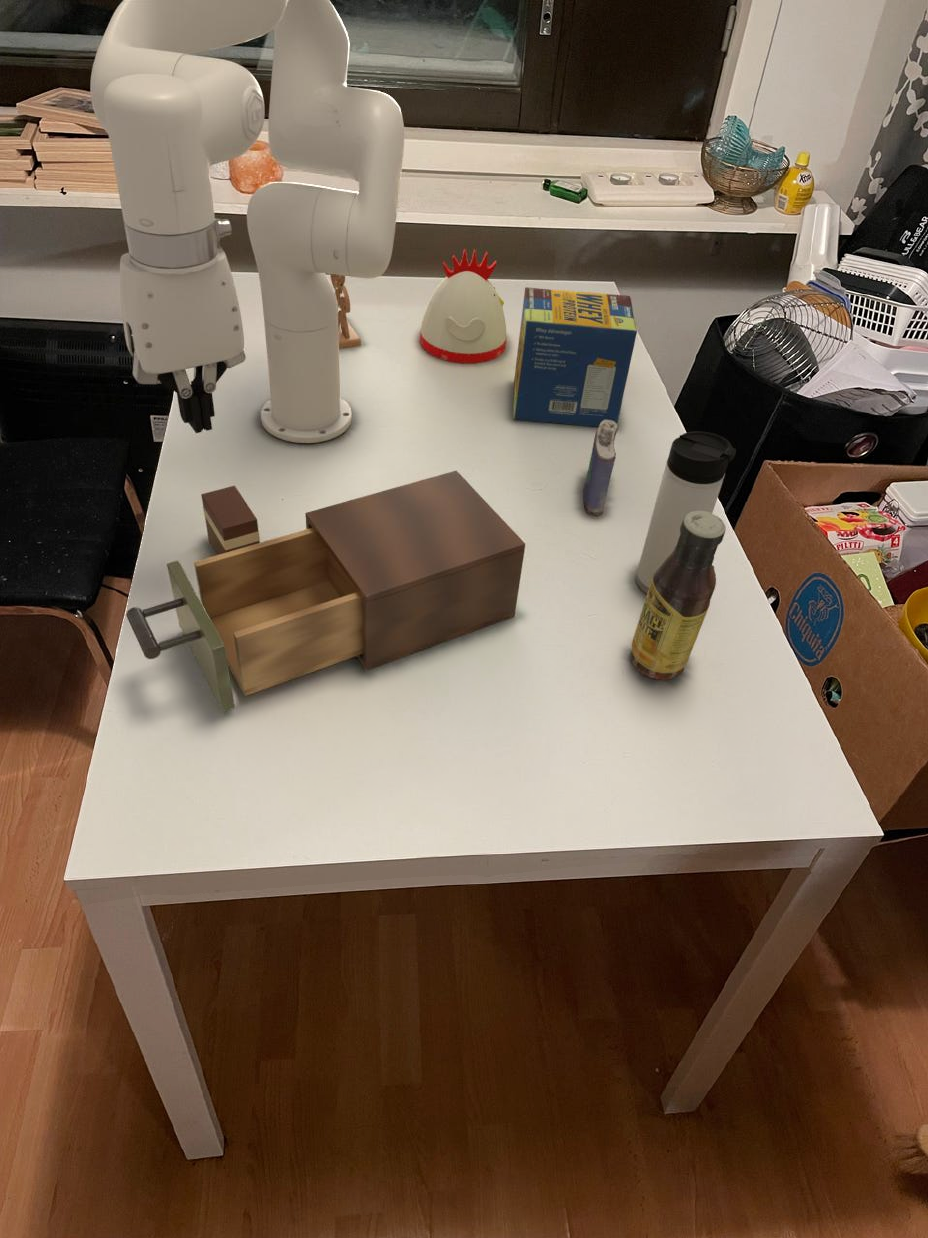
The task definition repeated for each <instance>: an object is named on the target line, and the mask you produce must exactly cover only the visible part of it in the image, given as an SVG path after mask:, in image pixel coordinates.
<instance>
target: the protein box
mask: <svg viewBox="0 0 928 1238" xmlns="http://www.w3.org/2000/svg"><path fill="white" fill-rule="evenodd" d="M522 302H523V303H522V311H521V312H522V313H521V321H520V329H519V337H518V345H517V353H516V362H515V369H514V370H515V371H514V378H513V413H512V414H513V415H512V416H513V417H512V418H513V420H515V421H516V420H518V421H529V422H537V423H538V422H540V423H549V424H550V423H551V424H562V425H563V424H564V425H572V426H574V425H575V426H587V427H597V428H598V427H599V424H600V423H601V422H602V421H603V420H612V421H614V422H615V423H617V424H618V423H619V417H620V415H621V414H620V413H621V408H622V404H623V400H624V399H623V398H624V394H625V389H626V385H627V381H628V377H629V371H630V366H631V362H632V357H633V352H634V348H635V344H636V338H637V334H638V327H637V325H636V321H635V315H634V309H633V302H632V297H631V296H630V295H626V294H610V293H599V292H588V291H587V292H585V291H575V290H561V289H549V288H548V289H547V288H539V287H538V288H537V287H524V293H523V301H522Z"/></svg>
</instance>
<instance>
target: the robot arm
mask: <svg viewBox="0 0 928 1238" xmlns="http://www.w3.org/2000/svg"><path fill="white" fill-rule="evenodd" d="M272 31H273V40H274V41H273V54H272V68H271V69H272V70H271V81H270V95H269V106H268V107H269V109H268V121H267V122H268V123H267V124H268V125H267V130H268V131H267V133H268V134H267V135H268V139H267V140H268V148H269V152H270V154H271V156H272V158H273V160H274V161H275V162H276V163H278V164H279V165H280V166H282V167H283V168H287V169H288V170H293V171H297V172H301V173H308V174H312V175H313V174H314V175H320V176H327V177H335V178H342V179H349V180H354V181H355V182H357V184H358V191H354V190H347V189H339V188H333V187H327V186H322V185H315V184H309V183H300V182H294V181H293V182H291V181H274V182H269V183H267V184H264V185H262V186H260V187H258V189H257V190H255V191H254V192H253V194H252V195H251V197H250V199H249V201H248V204H247V209H246V226H247V232H248V238H249V242H250V245H251V249H252V252H253V255H254V260H255V265H256V267H257V274H258V278H259V285H260V294H261V301H262V302H261V303H262V314H263V315H262V316H263V323H264V334H265V346H266V347H265V348H266V357H267V371H268V381H269V392H270V399H268V400H267V401H266V402H265V403H264V404H263V406H262V407H261V410H260V421H261V425H262V426H263V428H264V429H265V430H266V431H267V432H268V433H269V434H270V435H272V436H274V437H276V438H278V439H280V440H282V441H287V442H291V443H297V444H315V443H322V442H326V441H329V440H332V439H335V438H337V437H339V436H341V435H343V433H344V432H346V431H347V430H348V429H349V427H350V426H351V424H352V419H353V414H352V408H351V406H350V404H348V402H347V401H346V400H344V399H343V398H342V397H341V379H340V378H341V376H340V375H341V373H340V348H339V332H338V311H339V307H338V304H337V298H336V295H335V289H334V287H333V284H332V282H331V280H330V279H329V278H328V276H327V275H328V274H329V275H330V274H335V275H340V276H341V275H342V276H345V277H349V278H357V279H358V278H359V279H369V280H370V279H371V280H372V279H375V278H379V277H380V276H382V275H383V274H384V273H385V272H386V271H387V269H388V267H389V265H390V262H391V259H392V255H393V250H394V249H393V248H394V244H395V243H394V242H395V235H396V226H397V216H398V206H399V198H400V191H401V190H400V189H401V180H402V171H403V162H404V150H405V124H404V118H403V113H402V110H401V107H400V105H399V104H398V102H397V101H396V100H395V99H394V98H393V97H392V96H390V95H389V94H387V93H385V92H381V91H380V90H374V89H368V88H359V87H352V86H348V84H347V79H348V66H349V55H350V39H349V35H348V31H347V30H346V27H345V25H344V23H343V20H342V18H341V17H340V14H339V13H338V11H337V10H336V8H335V6H334V5H333V3H332V2H331V0H122V1H121V2H120V3H119V5H118V6H117V8H116V9H115V10H114V12H113V14H112V16H111V17H110V21H109V22H108V25H107V27H106V29H105V32H104V34H103V36H102V38H101V41H100V44H99V45H98V47H97V50H96V54H95V57H94V61H93V63H92V68H91V75H90V85H89V86H90V87H89V88H90V89H89V90H90V101H91V105H92V109H93V112H94V115H95V118H96V120H97V121H98V124H99V125H100V127H101V128H102V129H103V130H104V131H105V132H106V133H107V134H108V140H109V145H110V150H111V156H112V162H113V166H114V167H113V168H114V174H115V179H116V185H117V191H118V196H119V201H120V207H121V213H122V219H123V226H124V231H125V236H126V243H127V248H128V252H126V253H123V254H122V255H120V259H119V260H120V261H119V292H120V304H121V305H120V306H121V315H122V324H123V325H122V326H123V332H124V338H125V343H126V347H127V350H128V352H129V354H130V355H131V356H132V357H133V362H132V363H133V364H132V376H133V378H134V379H135V381H136V382H137V384H140V385H158V384H159V385H160V384H161V385H163V386H164V387H167V388H168V389H169V390H171V391H173V392H175V393H176V397H177V403H178V410H179V413H180V414H179V415H180V418H181V420H182V422H183V423H184V424H189V426H190V427H191V429H192V430H193V431H194V433H195V434H199V433H202V431H206V432H207V431H208V432H209V431H211V430H213V425H212V424H213V423H212V418H213V417H215V415H216V414H215V405H214V397H213V393H214V392H215V391H216V389H217V383H218V381H219V380H220V379H221V378H222V377H223V375H224V374H225V372H227V370H228V369H231V368H233V367H235V366H238V365H240V364H242V363H244V362H245V361H246V358H247V356H246V353H245V351H244V347H245V334H244V326H243V319H242V314H241V309H240V308H241V307H240V302H239V299H238V294H237V289H236V285H235V282H234V277H233V274H232V270H231V267H230V263H229V260H228V257H227V254H226V252H225V250H224V249H223V247H221V238H224V237H226V236H230V235H232V233H233V230H232V224H231V222H230V220H229V218H223V219H222V218H218V217H217V218H216V216H215V207H214V197H213V189H212V188H213V187H212V180H211V172H210V167H211V166H213V165H216V164H219V163H223V162H228V161H232V160H235V159H236V158H239V157H241V156H243V155H244V154H246V153H247V152H248V151H249V150H250V149H252V147H253V146H254V145H255V144H256V142H257V140H258V139H259V137H260V135H261V133H262V130H263V128H264V124H265V113H266V111H265V99H264V95H263V92H262V89H261V87H260V84H259V82H258V80H257V79H256V78H255V76H254V75H253V73H251V72H250V71H249V70H248V69H247V68H246V67H245V66H242V65H241V64H239V63H236V62H234V61H231V60H227V59H223V58H217V57H210V56H204V55H203V56H202V55H196V54H199V53H202V52H207V51H212V50H216V49H222V48H226V47H231V46H235V45H238V44H243V43H246V42H249V41H251V40H254V39H257V38H261V37H263V36H265V35H266V34H268V33H270V32H272ZM192 368H193V379H192V380H191V381H190V379H189V375H188V373H187V370H188V369H192Z"/></svg>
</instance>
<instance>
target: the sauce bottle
mask: <svg viewBox="0 0 928 1238" xmlns="http://www.w3.org/2000/svg"><path fill="white" fill-rule="evenodd" d="M725 533H726V524H725V523H724V520H722V518H721V517H719V515H716V514H714V513H710V512H706V511H693V512H690V513H689V514H687V515H686V516H685V517H684V519H683V521H682V524H681V526H680V536H679V539H678V542H677V545H676V547H675V548H674V551H673V552H672V553H671V554H670V555H669V556H668V558H667V559H666V560H665V561H664V562H663V563H662V565H661V566H660V567H659V568H658V569H657V571H656V572H655V573H654V575H653V577H652V580H651V584H650V586H649V590H648V593H647V594H646V597H645V599H644V603H643V605H642V610H641V611H640V615H639V619H638V622H637V625H636V627H635V632H634V635H633V638H632V641H631V651H630V660H631V662H632V665H633V666H634V668H635V669H637V670H638V672H640V673H641V674H642V675H643V676H645V677H647V678H650V679H651V678H652V679H654V680H659V681H660V680H664V681H665V680H666V681H667V680H671V679H673V678H676V677H677V676H679V675H681V674H682V672H684V670H685V667H686V665H687V664H688V661H689V659H690V657H691V654H692V652H693V649H694V646H695V644H696V641H697V638H698V637H699V633H700V631H701V628H702V626H703V623H704V621H705V618H706V615H707V614H708V610H709V609H710V606H711V605H710V604H711V599H712V597H713V594H714V592H715V590H716V586H717V575H716V571H715V566H714V565H713V562H714V560H715V554H716V552H717V550H718V547H719V545H720V544H722V542H723V540H724V537H725Z"/></svg>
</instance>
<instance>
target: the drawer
mask: <svg viewBox="0 0 928 1238" xmlns="http://www.w3.org/2000/svg"><path fill="white" fill-rule="evenodd" d="M193 565H194V572H195V577H196V583H197V588H198V594H199V596H198V594H197V592H196V590H195V588H194V586H193V585H192V583H191V581H190V579H189V577H188V575H187V574H186V572H185V570H184V568H183V566H182V565H181V563H180V561H179V560H178V559H177V560H174V561H171V562H168V563H166V567H167V572H168V576H169V581H170V586H171V592H172V597H173V600H170V601H167V602H164V603H160V604H157V605H154V606H150V607H147V608H144V609H141V608H140V607H138V606H137V607H136V606H135V607H131V608H129V609H128V610H127V612H126V614H125V615H126V618H127V620H128V622H129V625H130V627H131V629H132V631H133V633H134V636H135V638H136V641H137V642H138V645H139V647H140V649H141V651H142V653H143V655H144V657H145V659H148V660H154V659H156V658H159V656H160V655H161V653H162V651H166V650H169V649H172V648H175V647H179V646H181V645H184V644H188V645H189V647H190V649H191V651H192V654H193V655H194V657H195V660H196V661H197V663H198V665H199V667H200V669H201V671H202V673H203V675H204V677H205V679H206V681H207V683H208V685H209V687H210V689H211V690H212V693H213V695H214V696H215V699H216V700H217V702H218V704H219V706H220V708H221V710H222V712H227V711H229V710H233V709H235V702H234V695H233V689H232V682H231V676H230V672H231V673H232V675H233V678H234V679H235V681H236V682H237V684H238V687H239V688H240V690H241V692H242V694H243V696H245V697H246V696H249V695H251V694H255V693H257V692H261V691H263V690H266V689H268V688H272V687H274V686H277V685H280V684H282V683H286V682H288V681H292V680H293V679H296V678H300V677H303V676H304V675H307V674H310V673H313V672H317V671H319V670H322V669H324V668H327V667H330V666H333V665H335V664H338V663H340V662H341V663H342V662H344V661H346V660H349V659H352V658H356V657H357V656H358V655H361V654H363V610H362V596H361V595H360V594H359V592H358V591H357V589H356V588H355V587H354V585H353V584H352V582H351V581H350V580H349V578H348V577H347V575H346V574H345V573H344V571H343V570H342V568H341V567H340V566H339V564H338V563H337V561H336V560H335V559H334V557H333V556H332V554H331V553H330V552H329V550H328V549H327V547H326V546H325V545H324V543H323V542H322V540H321V539H320V538H319V536H318V535H317V534H316V532H315V531H314V529H313V528H309V529H303V530H300V531H299V530H298V531H295V532H293V533H290V534H286V535H285V534H284V535H283V536H279V537H275V538H272V539H268V540H265V541H261V542H260V543H258V544H254V545H251V546H247V547H244V548H241V549H237V550H234V551H230V552H227V553H223V554H220V555H217V554H216V555H214V556H210V557H207V558H203V559H200V560H196V561H194V562H193ZM171 610H175V612H176V615H177V621H178V625H179V629H180V630H181V632H182V635H179V636H176V637H173V638H170V639H167V640H163V641H161V642H158V641H157V639H156V638H155V637H156V636H155V635H154V633H153V631H152V629H151V627H150V624H149V623H148V621H147V618H149V617H152V616H155V615H158V614H161V613H165V612H169V611H171Z"/></svg>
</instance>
